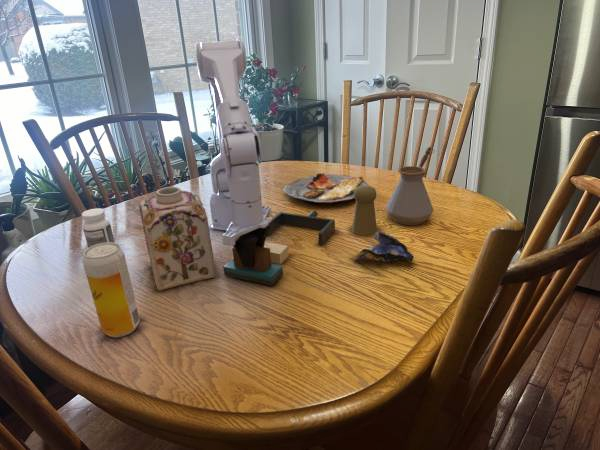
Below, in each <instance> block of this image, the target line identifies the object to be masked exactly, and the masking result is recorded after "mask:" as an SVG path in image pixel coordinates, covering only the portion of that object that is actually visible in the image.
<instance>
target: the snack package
mask: <svg viewBox="0 0 600 450" xmlns="http://www.w3.org/2000/svg"><path fill="white" fill-rule="evenodd" d="M373 239H374V240H375V241H376V242H378V243H377V244H375V245H371V246H370V247H369V248H363V249H362V250H361V251H359V253H357V254H355V255H352V258H353V259H354V261H355V262H357V260H358V259H363V260H370V261H379V262H393V261H394V262H395V261H400V260H405V261H409V262H413V260H414V255H413V253H411V252H410V251H408V248H407V246H406V245H405V244H404V243H403V242H401V241H400V240H398V239H397V238H396V237H394V236H393V235H390V234H387V233H386V232H381V231H380V230H377V232H376V233H375V234H373Z"/></svg>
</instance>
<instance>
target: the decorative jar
mask: <svg viewBox="0 0 600 450" xmlns="http://www.w3.org/2000/svg"><path fill="white" fill-rule="evenodd" d="M155 193H156V194H154V195H151V196H150V197H147V198H145V199H144V200H142V201H141V202H139V206H138V207H139V208H138V209H139V213H140V219H141V224H142V229H143V233H144V238H145V245H146V248H147V253H148V257H149V263H150V266H151V271H152V274H153V278H154V281H155V286H156V289H157V290H158V291H164V290H168V289H172V288H176V287H179V286H184V285H188V284H192V283H197V282H200V281H204V280H208V279H213V278H216V277H217V276H216V266H215V265H216V264H215V258H214V250H213V245H212V239H211V232H210V226H209V220H208V216H207V212H206V208H205V207H204V206H203V205H204V204H203V202H202V200H201V197H200V195H199V194H198V193H196V192H192V191H187V190H182V189H181V188H180V187H178V186H165V187H162V188H159V189H157V190H156V192H155Z"/></svg>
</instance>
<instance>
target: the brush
mask: <svg viewBox="0 0 600 450" xmlns="http://www.w3.org/2000/svg"><path fill="white" fill-rule="evenodd" d="M231 250H232V259H230V260H229V261H228V262H227V263H226V264H225V265H223V275H224V276H225V277H231V278H236V279H239V280H243V281H247V282H249V281H250V282H253V283H258V284H262V285H266V286H274V285H275V284H276V283H277V282H278V281H279V280H280V279H281V278H282V276H283V275H284V266H283V265H282V264H276V263H271V255H270V248H265V247H260V246H255V251H254V267H253V268H248V267H244V266H243V264H242V262H241V260H240V257H239V255H238V253H237V251H236V249H235V248H234V246H232V249H231Z"/></svg>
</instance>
